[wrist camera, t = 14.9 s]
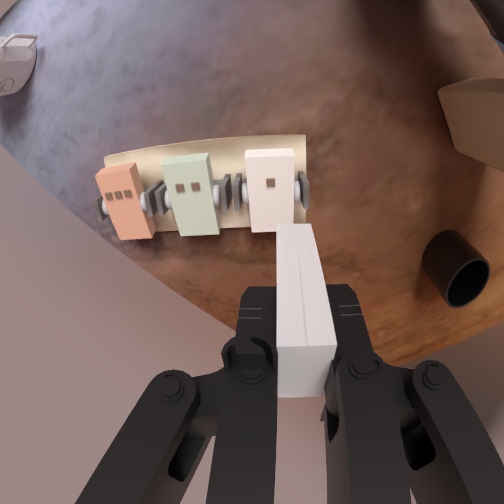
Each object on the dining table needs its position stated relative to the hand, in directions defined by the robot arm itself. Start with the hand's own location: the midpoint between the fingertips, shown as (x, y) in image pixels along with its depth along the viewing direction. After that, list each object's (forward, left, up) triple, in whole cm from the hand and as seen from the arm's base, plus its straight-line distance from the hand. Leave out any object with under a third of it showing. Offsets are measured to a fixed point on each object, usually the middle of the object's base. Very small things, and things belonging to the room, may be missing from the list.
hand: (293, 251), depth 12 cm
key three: (+3, -19, -20) cm, 28 cm away
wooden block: (-8, +29, -24) cm, 39 cm away
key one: (+3, -1, -20) cm, 21 cm away
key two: (+3, -10, -20) cm, 23 cm away
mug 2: (+17, +30, -24) cm, 42 cm away
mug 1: (-24, -40, -24) cm, 53 cm away
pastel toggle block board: (+4, -10, -24) cm, 26 cm away
